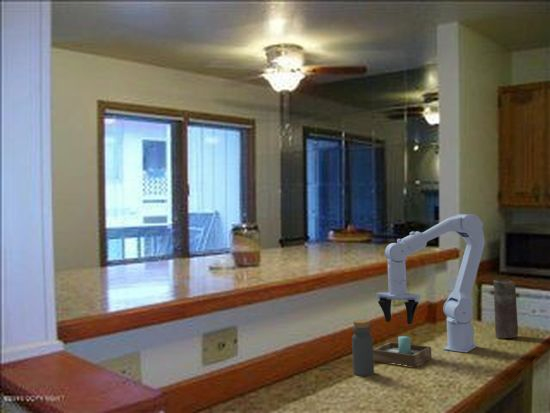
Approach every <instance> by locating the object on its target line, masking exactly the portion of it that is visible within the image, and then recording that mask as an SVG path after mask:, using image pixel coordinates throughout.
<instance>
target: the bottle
mask: <svg viewBox="0 0 550 413" xmlns="http://www.w3.org/2000/svg"><path fill="white" fill-rule="evenodd" d="M370 322H371V321H370V320H369V319H365V318H364V319H363V318H361V319H355V320H353V322H352V323H353V327H352V331H353V332H354V334H353V335H352V336H351V345H352V348H351V349H352V370H353V375H355V376H361V377H366V376H368V375H369V376H372V375H374V374H375V369H374V368H375V367H374V366H375V365H374V363H375V362H374V361H373V349H374V344H373V336H372V334H370V331H372V328H371V326H370ZM373 373H374V374H373ZM371 374H372V375H371Z"/></svg>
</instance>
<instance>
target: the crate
mask: <svg viewBox="0 0 550 413" xmlns="http://www.w3.org/2000/svg"><path fill="white" fill-rule="evenodd" d="M410 345H411V355H410V354H403V353H399V345H398V342H393V341H389V342H387V343H386V342H385V344H382V345H379V346H377V347H375V348H373V361H374V363H380V364H381V363H382V364H386V363H395V364H401V365H407V366H412V367H411V368H413V367H415V366H417V365H419V364H420V365H422V364H424V363H426V362H427V360H428V359H429V360H431V359H432V358H433V357H432V346H426V345H418V344H411V343H410ZM430 358H431V359H430ZM429 360H428V361H429ZM425 361H426V362H425ZM423 362H424V363H423ZM421 363H422V364H421ZM420 365H419V366H420ZM417 367H418V366H417ZM415 368H416V367H415Z"/></svg>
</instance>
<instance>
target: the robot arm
mask: <svg viewBox="0 0 550 413" xmlns="http://www.w3.org/2000/svg"><path fill="white" fill-rule="evenodd" d="M483 227H484V223H483V221H482V220H481V219H480V217H479V216H477V215H476V214H474V213H469V214H468V213H467V214H466V213H465V214H463V213H457V214H455V215H454V216H449V217H448V218H446V219H444V220H442V221H441V222H439V223H437V224H435V225H433V226H432V227H430V228H428V229H426V230H425V231H423V232H420V231H418V230H417V231H411V232H409V235H407V236H405V237H403V238H398V239H397V240H396V242H391V243H389V244H388V245H387V246H386V247H385V249H384V256H385V258H386V260H387V281H388V282H387V284H388V292H386V291H385V292H384V291H383V292H382V291H379V292H376V299H377V300H378V301H377V302H378V305H379V307H380V308H381V310H382V313H383V316H384V319H385V322H387V323H390V322H391V321H392V312H391V311H392V310H391V309H392V300H395V301H405V302H404V305H405V309H406V310H405V311H406V322H407V324H408V325H411V324H413V321H414V318H415V317H414V315H415V312H416V309H417V308H418V305H419V304H420V301H421V294H414V293H408V290H407V288H408V286H407V270H406V269H407V268H406V267H407V266H406V260H407V258H408V256H411V255H412V254H414V253H416V252H418V251H420V250H423V249H424V248H426V246H427V243H428V242H430V241H431V240H434V239H436V238H438V237H440V236H442V235H444V234H447V233H449V232H454V233H456V234H458V235H459V236H461V238H462V240H463V241H464V243H465V244H466V245H465V249H464V252H463V257H462V261H461V265H460V268H459V270H458V271H459V272H458V274H457V277H456V281H455V282H456V283H455V285H454V288H453V290H452V291H451V293H449V294H448V299H447V300H446V301H445V302H444V304H443V308H442V310H443V313H444V315H445V316H446V332H447V333H446V334H447V338H446V340H447V345H446V346H444V347H442V350H444V351H452V352H453V351H454V352H461V353H468V352H470V351H472V350H473V349H475V348H477V347H478V344H475V336H474V335H475V331H474V330H475V329H474V325H473V323H472V322H471V319H472V317H473V314H474V311H473V304H474V301H473V298H472V292H473V289H474V285H475V282H476V277H477V273H478V270H479V266H480V263H481V259H482V256H483V252H484V248H485V243H486V239H485V235H484V231H483Z"/></svg>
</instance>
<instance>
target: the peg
mask: <svg viewBox="0 0 550 413" xmlns="http://www.w3.org/2000/svg"><path fill="white" fill-rule="evenodd" d="M397 338H398V340H397V341H398V342H397V343H398V345H399V353H403V354H410V355H411V345H412V344H411V337H410V336H408V335H400V336H398V337H397ZM410 344H411V345H410Z"/></svg>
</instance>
